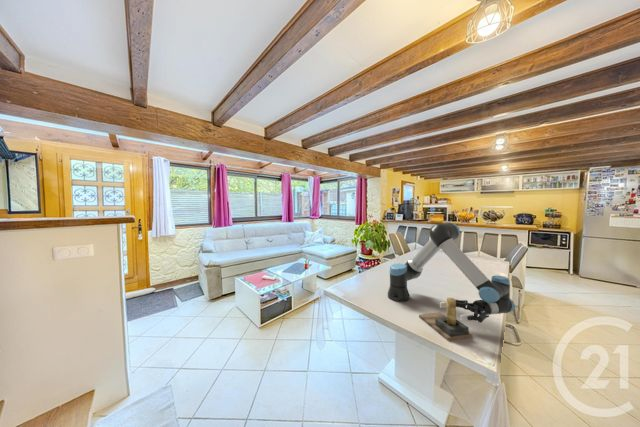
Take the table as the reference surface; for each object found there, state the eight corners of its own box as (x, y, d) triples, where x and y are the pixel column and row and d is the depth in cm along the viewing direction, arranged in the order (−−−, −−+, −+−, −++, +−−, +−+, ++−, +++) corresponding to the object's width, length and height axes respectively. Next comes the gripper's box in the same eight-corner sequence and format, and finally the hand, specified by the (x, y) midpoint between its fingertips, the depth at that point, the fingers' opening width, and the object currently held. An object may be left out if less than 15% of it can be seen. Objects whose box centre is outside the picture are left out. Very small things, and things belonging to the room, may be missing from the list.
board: (419, 317, 124) (419, 309, 124) (440, 314, 126) (440, 306, 126) (447, 340, 102) (447, 330, 102) (472, 337, 105) (472, 327, 105)
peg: (445, 327, 111) (444, 298, 110) (451, 326, 111) (451, 297, 111) (451, 332, 107) (450, 301, 106) (457, 331, 107) (457, 300, 107)
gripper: (509, 327, 99) (470, 332, 96) (465, 303, 124) (433, 307, 121) (509, 311, 99) (470, 316, 96) (465, 291, 124) (433, 294, 120)
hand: (449, 311), depth 108 cm, fingers open, 13 cm apart
